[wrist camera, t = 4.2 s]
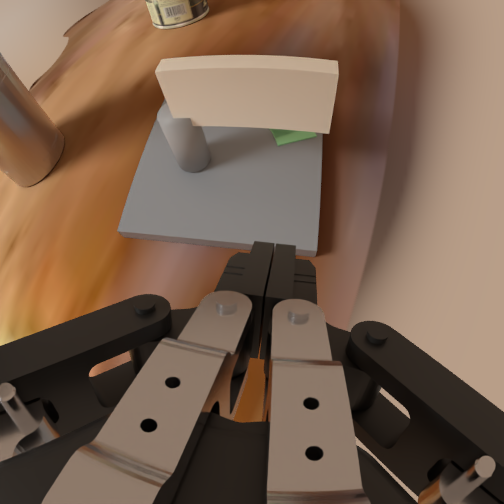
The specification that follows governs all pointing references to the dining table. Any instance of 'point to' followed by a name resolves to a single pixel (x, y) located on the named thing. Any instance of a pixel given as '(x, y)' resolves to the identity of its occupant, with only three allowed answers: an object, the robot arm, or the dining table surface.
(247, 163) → the board
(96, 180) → the dining table surface
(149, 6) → the coffee can
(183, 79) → the lever handle
